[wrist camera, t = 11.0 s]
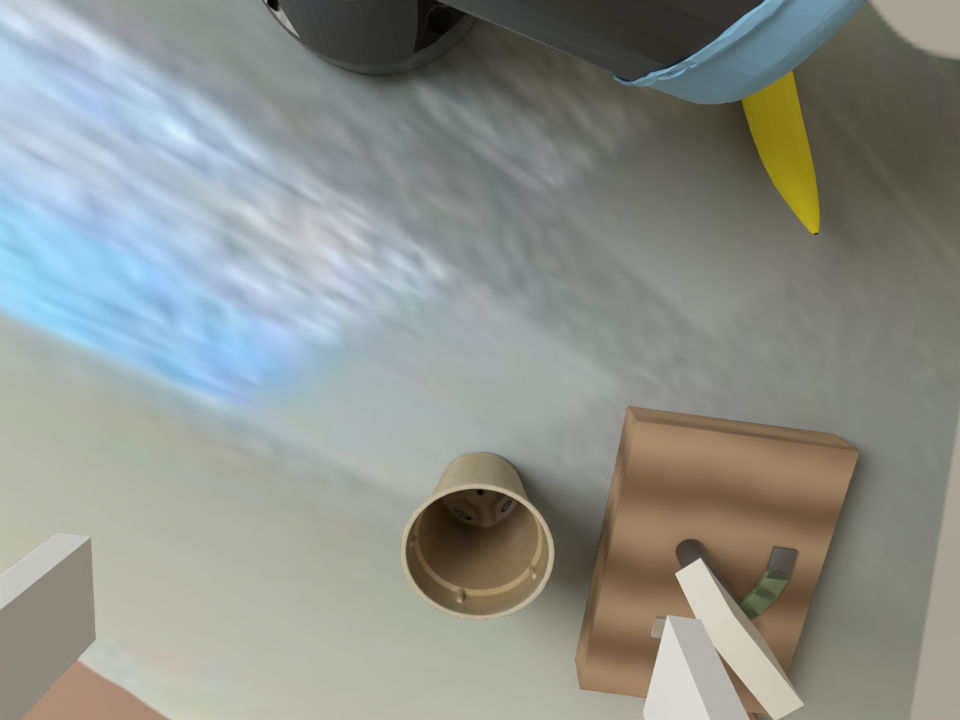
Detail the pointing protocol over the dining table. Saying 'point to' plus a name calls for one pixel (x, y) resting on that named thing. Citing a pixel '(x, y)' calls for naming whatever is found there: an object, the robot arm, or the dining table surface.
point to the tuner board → (708, 536)
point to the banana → (785, 147)
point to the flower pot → (478, 542)
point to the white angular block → (733, 631)
